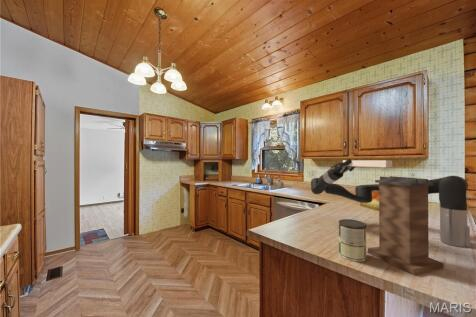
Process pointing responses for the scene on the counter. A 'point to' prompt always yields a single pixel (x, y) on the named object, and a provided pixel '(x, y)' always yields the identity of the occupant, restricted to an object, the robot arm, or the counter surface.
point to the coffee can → (352, 240)
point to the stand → (404, 224)
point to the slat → (370, 163)
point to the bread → (374, 203)
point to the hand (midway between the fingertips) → (353, 160)
